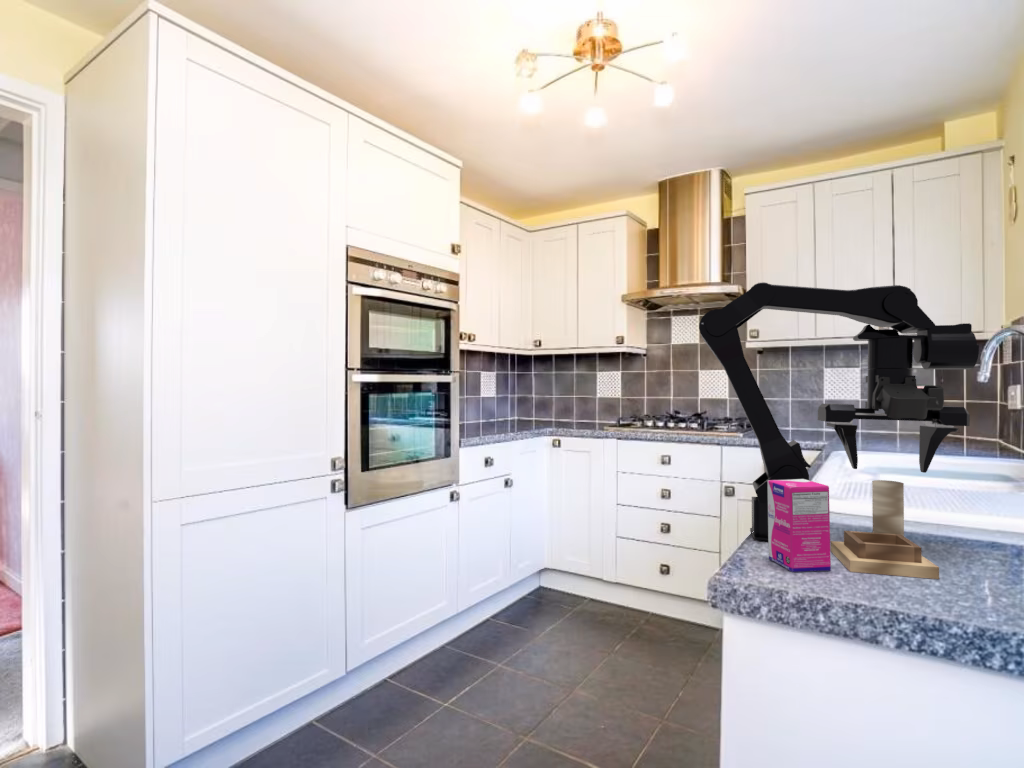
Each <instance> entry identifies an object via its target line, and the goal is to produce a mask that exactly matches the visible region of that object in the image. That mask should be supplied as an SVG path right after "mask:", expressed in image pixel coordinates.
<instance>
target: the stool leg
mask: <svg viewBox="0 0 1024 768" xmlns="http://www.w3.org/2000/svg"><path fill="white" fill-rule="evenodd" d="M904 484H905V483H904V482H901V481H895V480H894V481H893V480H887V479H886V480H885V479H884V480H882V479H876V480H872V482H871V486H872V487H871V488H872V489H871V490H872V493H871V494H872V495H871V498H872V501H871V502H872V505H871V506H872V508H871V509H872V532H873V533H888V534H901V535H902V536H904V537H905V512H904V511H905V499H904V498H905V497H904V496H905V493H904V492H905V491H904V487H905V485H904Z"/></svg>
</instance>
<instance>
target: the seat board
mask: <svg viewBox="0 0 1024 768" xmlns="http://www.w3.org/2000/svg"><path fill="white" fill-rule="evenodd" d="M830 553H832V554H833V556H835V557H836V558H837V560H839V561H840V563H841V564H843V566H844V567H845V568H846V569H847V570H848V572H850V573H862V574H875V575H884V576H885V575H886V576H898V577H910V578H919V579H921V578H922V579H933V580H940V567H939V566H938V565H937V564H935V563H933V562H932V561H930V560H929V559H927V558H926V557H924V556H923V555H922V554H923V553H922V547H921V546H919V545H918V544H916V543H914V542H913V541H912V540H910V539H909V538H907V537H905V535H904V536H902V535H901V534H888V533H873V531H872V532H870V531H869V532H868V531H854V530H843V541H838V540H837V541H836V540H835V541H834V540H830Z"/></svg>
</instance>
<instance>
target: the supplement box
mask: <svg viewBox="0 0 1024 768" xmlns="http://www.w3.org/2000/svg"><path fill="white" fill-rule="evenodd" d="M767 482H768V559H769V560H770V561H771V562H774V563H776V564H778V565H779V566H781V567H783V568H785V569H786V570H788V571H790V572H792V573H799V572H800V573H803V572H805V573H806V572H807V573H808V572H831V571H832V569H831V568H832V565H831V561H832V560H831V527H830V526H831V522H830V520H831V519H830V518H831V517H830V513H831V512H830V486H829V485H827V484H823V483H819V482H816V481H812V480H810V479H809V480H805V479H792V480H768V481H767Z"/></svg>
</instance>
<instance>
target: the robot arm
mask: <svg viewBox="0 0 1024 768" xmlns="http://www.w3.org/2000/svg"><path fill="white" fill-rule="evenodd" d="M918 301H919V300H918V297H917V295H916V294H915V292H913V291H912V289H911V288H910V287H907V286H904V285H900V284H899V285H897V284H895V285H883V286H871V287H864V288H859V289H856V288H855V289H835V288H833V289H832V288H822V287H811V286H809V287H807V286H796V285H784V284H783V285H782V284H770V283H768V282H763V281H762V282H758V283H755V284H754V285H752V286H751V287H750V289H748V290H747V291H746V292H744V293H743V294H741V295H740V296H738V297H736V298H735V299H733V300H732V301H730V302H729V303H728V304H726V305H725V306H723V307H722V308H716V309H712V310H709V311H707V312H706V313H704V315H703V316H702V317H701V319H700V322H699V324H698V329H699V333H700V337H701V338H702V340H703V342H704V343H705V344H706V346H707V347H708V349H709V350H710V351H711V352H712V354H713V355H714V357H715V358H716V359H717V361H718V362H719V363H720V365H721V366H722V367H723V369H724V371H725V374H726V375H727V378H728V380H729V382H730V384H731V387H732V388H733V391H734V393H735V395H736V397H737V399H738V401H739V403H740V406H741V407H742V410H743V412H744V415H745V417H746V419H747V420H748V422H749V424H750V426H751V429H752V431H753V434H754V435H755V437H756V439H757V443H758V447H759V451H760V455H761V460H762V463H763V466H764V467H763V468H764V472H763V473H762V474H761V475H760V476H758V477H757V478H756V479H755V480H753V482H752V486H753V488H754V491H755V494H756V496H751V527H750V528H749V531H750V534H751V533H752V532H753V531H754V532H753V533H752V534H751V536H752V538H753V539H754V540H756V541H765V542H767V541H768V482H767V481H768V480H792V479H805V480H809V481H810V474H809V471H808V468H810V469H811V467H812V466H811V465H810V464H809V463H808V461H807V460H806V458H805V457H804V454H803V451H802V448H801V445H800V443H799V442H798V441H796V440H794V439H793V440H791V441H789V442H788V441H787V440H786V439H785V437H784V435H782V433H781V431H780V429H779V426H778V425H777V423H776V420H775V418H774V416H773V415H772V412H771V411H770V408H769V406H768V404H767V402H766V399H765V398H764V395H763V394H762V391H761V389H760V387H759V384H758V383H757V381H756V379H755V377H754V375H753V372H752V371H751V369H750V366H749V364H748V362H747V360H746V357H745V355H744V351H743V346H742V342H741V337H740V333H739V330H738V329H739V328H740V327H742V326H743V325H744V324H746V323H747V322H748V321H750V320H751V319H752V318H753V317H754V316H755V315H757V314H758V313H760V312H761V311H763V310H772V311H773V310H775V311H784V312H785V311H786V312H797V313H806V314H807V313H808V314H818V315H819V314H820V315H827V316H829V315H831V316H839V317H844V318H847V319H850V320H853V321H856V322H859V323H862V324H866V325H864V326H863V328H862V329H861V331H860V332H858V333H857V334H855V336H853V337H852V340H853V341H854V342H867V375H866V376H865V383H867V396H866V397H867V401H865V408H863V407H855V404H851V403H821V404H820V405H819V406H818V409H817V421H819V422H820V421H821V422H826V426H827V427H830V428H833V429H834V431H835V433H836V434H837V437H839V440H840V442H841V444H842V446H843V448H844V451H845V453H846V457H847V458H848V461H849V463H850V465H851V469H853V470H857V469H858V463H859V460H858V459H859V458H858V457H859V456H858V445H857V430H858V425H857V424H853V422H854V421H853V420H872V421H873V420H874V421H878V420H879V421H880V420H881V421H904V422H905V421H907V422H909V421H910V422H911V421H912V422H925V423H924V425H919V442H918V443H919V444H918V445H919V447H918V448H919V449H918V453H919V454H918V455H919V457H918V462H919V464H918V465H919V471H920V472H921V473H927V472H928V470H929V467H930V466H931V463H932V461H933V459H934V457H935V454H936V452H937V450H938V448H939V447H940V445H941V443H942V441H943V440H944V439H945V438H946V437H948V435H949V434H950V433H954V432H955V433H956V432H958V431H959V428H958V427H970V420H971V419H970V413H969V411H968V409H966V407H964V406H952V405H951V406H949V405H947V406H946V405H944V403H945V388H943V386H941V385H931V384H930V385H929V384H928V385H924V387H923V388H918V386H917V379H916V375H913V360H914V362H915V363H916V364H920V365H921V366H922V368H923V369H924V370H973V369H974V367H975V366H976V364H977V363H978V358H979V353H980V352H979V350H980V345H979V344H978V342H977V338H976V335H975V333H974V332H973V330H972V329H973V328H972V327H973V325H972V324H971V323H958V324H949V325H948V324H947V325H946V324H945V325H944V324H943V325H941V324H940V325H936V323H935V322H934V321H933V320H932V319H931V318H930V317H929V316H928V315H927V314H926V312H925V311H923V309H922V308H921V307H920V306H919V303H918ZM873 326H874V327H879V328H886V329H875V328H874V327H873ZM887 328H888V329H887ZM905 334H906V335H905ZM915 334H916V335H915ZM880 410H882V411H883V412H879V411H880ZM876 412H877V413H876ZM955 426H956V427H955Z"/></svg>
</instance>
